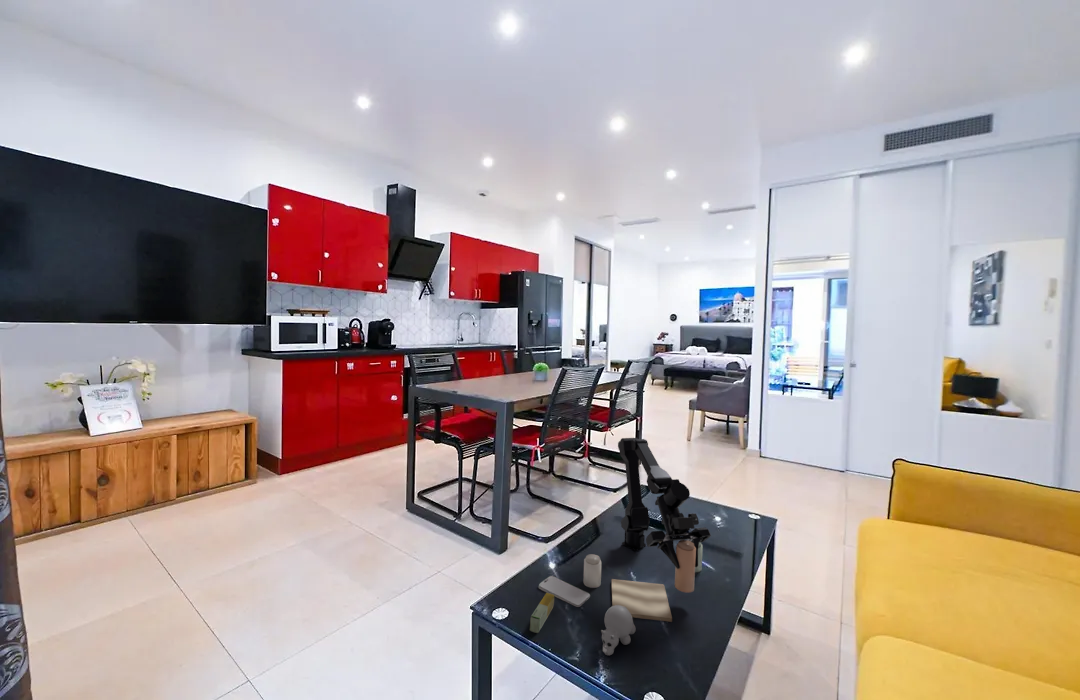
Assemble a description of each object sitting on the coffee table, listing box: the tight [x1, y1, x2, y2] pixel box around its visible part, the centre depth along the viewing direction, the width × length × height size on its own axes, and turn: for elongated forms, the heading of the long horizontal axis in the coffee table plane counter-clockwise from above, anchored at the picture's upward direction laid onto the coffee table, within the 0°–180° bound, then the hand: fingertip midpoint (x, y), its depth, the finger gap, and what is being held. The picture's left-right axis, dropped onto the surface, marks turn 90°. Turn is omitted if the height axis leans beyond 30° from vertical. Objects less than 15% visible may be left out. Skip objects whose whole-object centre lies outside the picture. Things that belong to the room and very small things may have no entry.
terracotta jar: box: [674, 540, 696, 594], centre depth 127 cm, size 5×5×13 cm
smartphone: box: [538, 575, 591, 608], centre depth 132 cm, size 7×1×15 cm
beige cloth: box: [611, 578, 673, 623], centre depth 128 cm, size 16×16×1 cm
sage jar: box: [695, 542, 704, 573], centre depth 147 cm, size 5×5×9 cm
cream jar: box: [582, 553, 602, 589], centre depth 137 cm, size 5×5×8 cm
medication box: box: [529, 592, 555, 634], centre depth 119 cm, size 12×3×4 cm, turn 159°
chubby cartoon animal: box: [600, 605, 637, 656], centre depth 110 cm, size 7×12×8 cm, turn 141°
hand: (687, 567), depth 126 cm, fingers closed on terracotta jar, 5 cm apart
